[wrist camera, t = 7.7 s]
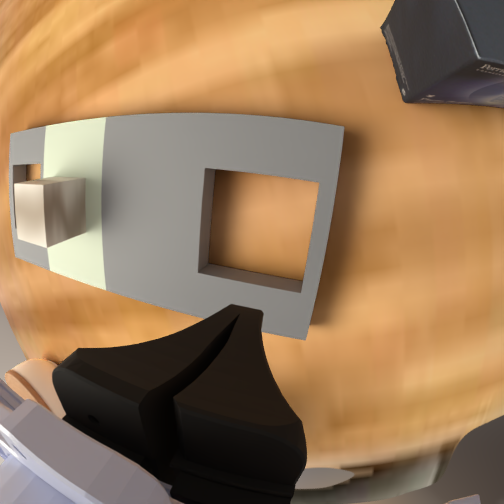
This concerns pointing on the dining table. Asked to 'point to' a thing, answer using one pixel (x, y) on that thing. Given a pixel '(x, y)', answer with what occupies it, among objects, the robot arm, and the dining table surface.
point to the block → (50, 210)
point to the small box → (448, 50)
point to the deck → (178, 206)
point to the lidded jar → (36, 383)
